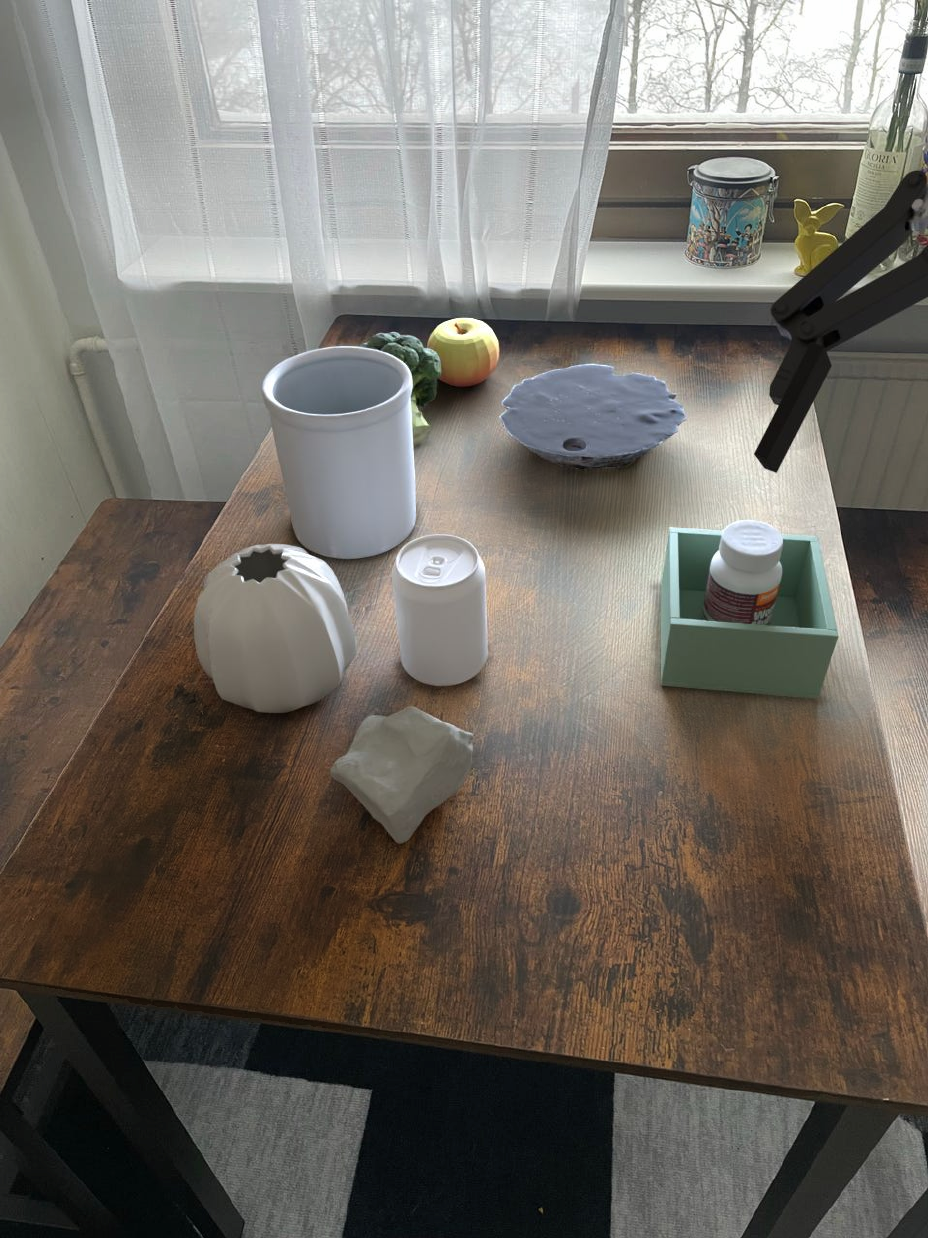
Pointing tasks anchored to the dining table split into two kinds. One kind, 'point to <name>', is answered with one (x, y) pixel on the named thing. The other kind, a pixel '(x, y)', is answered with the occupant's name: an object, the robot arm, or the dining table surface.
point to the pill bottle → (744, 574)
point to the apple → (465, 351)
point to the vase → (273, 628)
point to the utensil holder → (345, 448)
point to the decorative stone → (405, 767)
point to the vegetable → (413, 373)
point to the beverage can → (440, 609)
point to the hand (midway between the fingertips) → (887, 509)
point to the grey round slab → (591, 416)
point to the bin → (739, 652)
